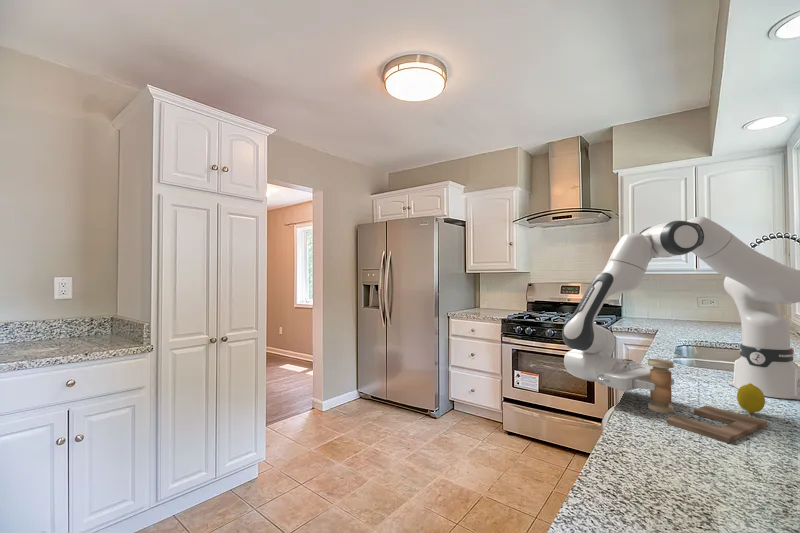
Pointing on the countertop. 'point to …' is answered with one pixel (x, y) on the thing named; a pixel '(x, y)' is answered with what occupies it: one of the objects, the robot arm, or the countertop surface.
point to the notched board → (729, 433)
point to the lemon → (750, 398)
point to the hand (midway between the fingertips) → (664, 384)
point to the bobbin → (661, 386)
